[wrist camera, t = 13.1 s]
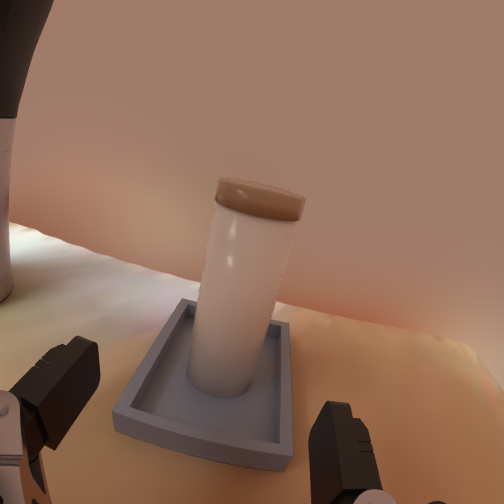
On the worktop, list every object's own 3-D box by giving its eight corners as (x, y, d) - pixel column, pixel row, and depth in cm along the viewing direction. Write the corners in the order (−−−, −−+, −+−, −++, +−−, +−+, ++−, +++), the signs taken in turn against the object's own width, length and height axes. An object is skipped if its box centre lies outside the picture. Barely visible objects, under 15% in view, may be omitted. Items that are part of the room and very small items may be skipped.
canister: (177, 388, 20) (210, 181, 16) (194, 348, 25) (226, 175, 21) (249, 406, 20) (309, 205, 16) (254, 363, 25) (302, 193, 20)
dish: (114, 430, 15) (112, 410, 15) (179, 315, 30) (182, 298, 30) (283, 472, 15) (293, 456, 15) (283, 340, 30) (289, 323, 30)
